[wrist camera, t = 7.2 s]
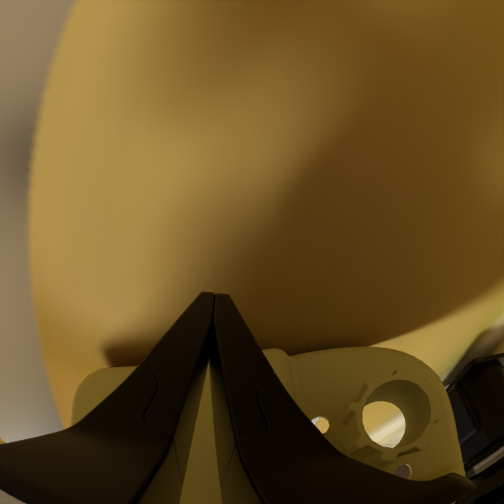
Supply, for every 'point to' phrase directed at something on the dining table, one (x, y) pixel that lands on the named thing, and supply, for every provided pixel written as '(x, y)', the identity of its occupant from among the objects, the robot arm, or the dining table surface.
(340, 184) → the dining table surface
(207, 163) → the dining table surface
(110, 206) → the dining table surface
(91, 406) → the plastic component
